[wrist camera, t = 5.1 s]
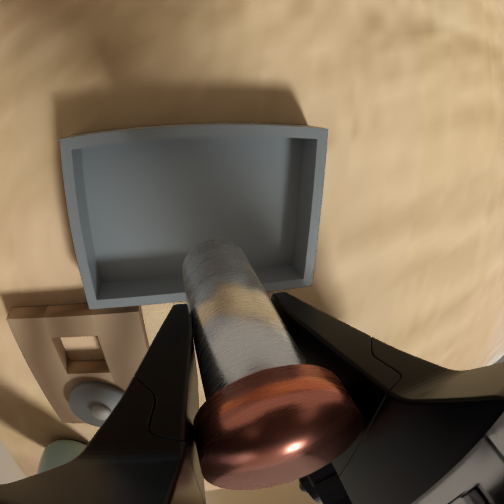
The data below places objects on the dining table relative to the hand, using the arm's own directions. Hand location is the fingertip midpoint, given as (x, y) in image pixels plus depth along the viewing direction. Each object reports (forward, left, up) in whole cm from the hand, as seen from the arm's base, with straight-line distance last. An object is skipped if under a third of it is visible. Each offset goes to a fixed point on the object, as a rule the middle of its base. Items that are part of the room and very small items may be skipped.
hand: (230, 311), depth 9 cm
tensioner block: (+9, +12, -10) cm, 18 cm away
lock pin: (0, 0, -3) cm, 3 cm away
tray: (0, 0, -10) cm, 10 cm away
